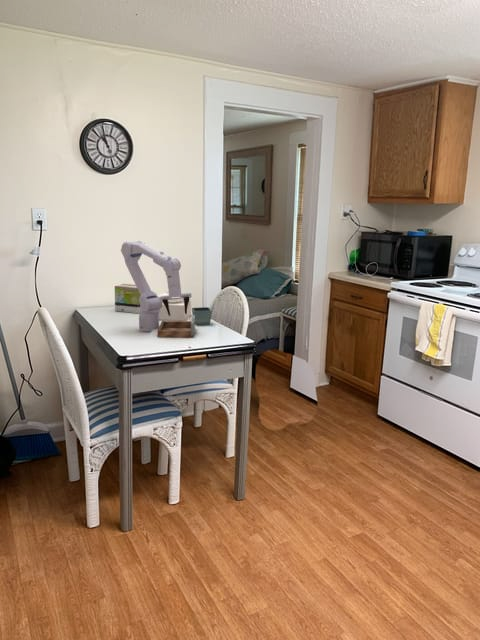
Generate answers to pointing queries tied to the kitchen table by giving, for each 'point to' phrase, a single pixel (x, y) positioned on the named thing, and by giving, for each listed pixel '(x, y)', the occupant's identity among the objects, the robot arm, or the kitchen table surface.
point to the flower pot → (202, 315)
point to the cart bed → (175, 329)
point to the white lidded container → (174, 309)
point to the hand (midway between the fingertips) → (177, 314)
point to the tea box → (127, 298)
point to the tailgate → (193, 325)
